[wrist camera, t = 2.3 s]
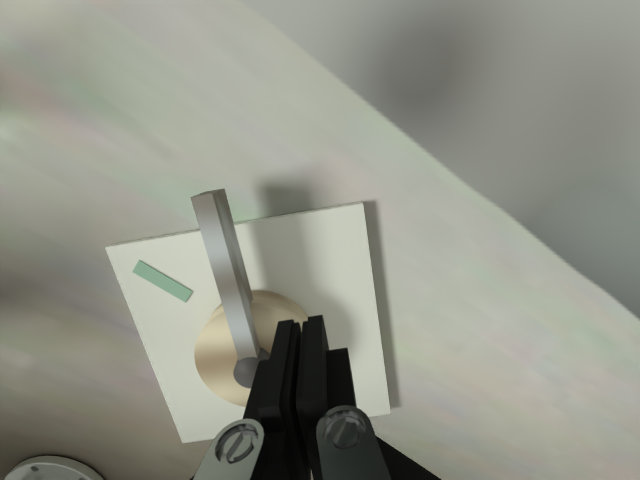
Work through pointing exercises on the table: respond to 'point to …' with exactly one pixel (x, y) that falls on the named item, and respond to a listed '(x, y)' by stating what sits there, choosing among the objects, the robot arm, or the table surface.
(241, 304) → the cam dial
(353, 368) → the stand plate
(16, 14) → the table surface
